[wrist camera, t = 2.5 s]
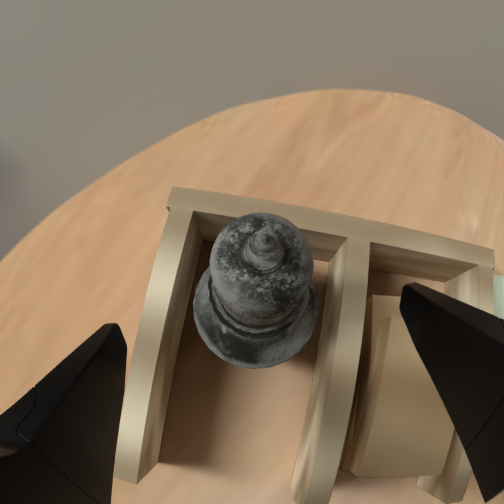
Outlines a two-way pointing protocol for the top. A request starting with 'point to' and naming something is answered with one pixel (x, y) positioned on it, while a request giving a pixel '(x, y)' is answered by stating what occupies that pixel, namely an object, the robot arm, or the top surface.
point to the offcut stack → (393, 403)
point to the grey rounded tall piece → (257, 292)
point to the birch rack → (331, 336)
